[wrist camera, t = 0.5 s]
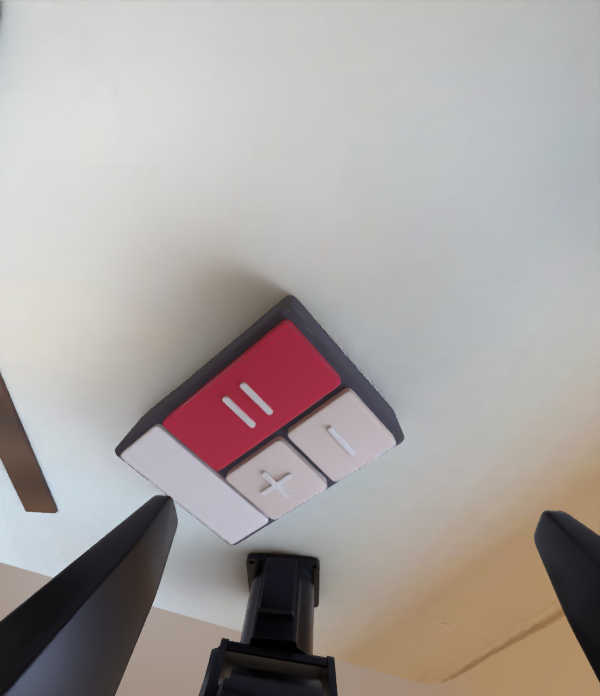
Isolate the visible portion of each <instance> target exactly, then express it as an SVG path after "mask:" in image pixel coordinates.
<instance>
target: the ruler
mask: <svg viewBox="0 0 600 696" xmlns="http://www.w3.org/2000/svg"><path fill="white" fill-rule="evenodd" d="M0 458H1V460H2V462H3V465H4V467H5V469H6V471H7V473H8V475H9V477H10V479H11V481H12V483H13V485H14V488H15V490H16V492H17V494H18V496H19V498H20V500H21V502H22V504H23V506H24V509H25V511H26V512H42V513H56V512H57V511H58V510H57V508H56V505H55V503H54V501H53V498H52V496H51V493H50V491H49V489H48V486H47V484H46V482H45V479H44V477H43V475H42V472H41V470H40V467H39V465H38V463H37V460H36V458H35V456H34V453H33V451H32V448H31V446H30V444H29V441H28V439H27V437H26V434H25V432H24V429H23V427H22V425H21V422H20V420H19V418H18V415H17V413H16V410H15V408H14V406H13V403H12V401H11V399H10V396H9V394H8V392H7V389H6V387H5V384H4V382H3V380H2V377H1V375H0Z"/></svg>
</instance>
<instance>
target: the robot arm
mask: <svg viewBox="0 0 600 696" xmlns="http://www.w3.org/2000/svg"><path fill="white" fill-rule="evenodd" d="M177 523H178V519H177V514H176V510H175V505H174V501H173V498H172V497H171V496H163V495H157V496H154V497H153V498H151V499H150V500H149V501H147V502H146V503H145V504H144V505H143V506H141V507H140V508H139V509H138V510H136V511H135V512H134V513H133V514H132V515H130V516H129V517H128V518H127V519H125V520H124V521H123V522H122V523H120V524H119V525H118V526H117V527H116V528H114V529H113V530H112V531H111V532H109V533H108V534H107V535H106V536H104V537H103V538H102V539H101V540H100V541H98V542H97V543H96V544H95V545H93V546H92V547H91V548H90V549H89V550H87V551H86V552H85V553H84V554H82V555H81V556H80V557H79V558H77V559H76V560H75V561H74V562H73V563H71V564H70V565H69V566H68V567H66V568H65V569H64V570H63V571H61V572H60V573H59V574H58V575H57V576H55V577H54V578H53V579H52V580H50V581H49V582H48V583H47V584H46V585H44V586H43V587H42V588H41V589H39V590H38V591H37V592H36V593H34V594H33V595H32V596H31V597H30V598H28V599H27V600H26V601H25V602H24V603H22V604H21V605H20V606H19V607H17V608H16V609H15V610H14V611H12V612H11V613H10V614H9V615H7V616H6V617H5V618H4V619H3V620H1V621H0V696H115V694H116V691H117V689H118V686H119V684H120V682H121V679H122V677H123V674H124V672H125V669H126V667H127V665H128V662H129V659H130V657H131V655H132V652H133V650H134V648H135V645H136V643H137V640H138V638H139V635H140V633H141V631H142V628H143V626H144V623H145V621H146V618H147V616H148V614H149V611H150V609H151V606H152V604H153V601H154V599H155V596H156V593H157V590H158V587H159V584H160V581H161V578H162V574H163V571H164V568H165V565H166V561H167V558H168V555H169V552H170V548H171V545H172V542H173V539H174V535H175V532H176V529H177ZM534 540H535V544H536V547H537V550H538V552H539V554H540V557H541V559H542V561H543V564H544V566H545V569H546V571H547V573H548V576H549V578H550V581H551V583H552V585H553V588H554V590H555V592H556V595H557V597H558V600H559V602H560V604H561V607H562V609H563V611H564V613H565V616H566V618H567V620H568V622H569V624H570V626H571V628H572V630H573V632H574V634H575V636H576V638H577V640H578V642H579V644H580V646H581V648H582V649H583V651H584V653H585V655H586V657H587V659H588V661H589V663H590V665H591V667H592V669H593V671H594V672H595V674H596V676H597V678H598V680H599V682H600V536H599V535H598V534H596V533H595V532H593V531H592V530H591V529H589V528H588V527H586V526H585V525H583V524H582V523H580V522H579V521H578V520H576V519H575V518H573V517H572V516H570V515H569V514H567V513H565V512H563V511H550V510H546V511H544V512H543V513H542V514H541V517H540V520H539V522H538V525H537V528H536V531H535V534H534ZM246 565H247V574H248V583H249V592H250V595H249V600H248V605H247V610H246V615H245V620H244V625H243V630H242V636H241V641H240V643H239V642H233V641H229V639H225V638H222V640H221V644H220V646H219V647H218V648H215V649H212V651H211V655H210V659H209V663H208V667H207V670H206V674H205V678H204V681H203V684H202V687H201V690H200V693H199V696H338V695H337V684H336V672H335V661H334V657H330V656H327V657H321V656H315V655H313V623H314V607H317V606H318V605H319V569H320V562H319V560H318V559H316V558H304V557H289V556H274V555H260V554H249V555H248V556H247V560H246Z"/></svg>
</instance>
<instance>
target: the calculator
mask: <svg viewBox="0 0 600 696" xmlns="http://www.w3.org/2000/svg"><path fill="white" fill-rule="evenodd" d="M403 440H404V435H403V432H402V430H401V427H400V425H399V423H398V420H397V418H396V416H395V413H394V411H393V410H392V408H391V407H390V406H389V405H388V404H387V402H386V401H385V400H384V399H383V398H382V397H381V395H380V394H379V393H378V392H377V391H376V390H375V389H374V387H373V386H372V385H371V384H370V383H369V382H368V380H367V379H366V378H365V377H364V376H363V375H362V373H361V372H360V371H359V370H358V369H357V368H356V367H355V365H354V364H353V363H352V362H351V361H350V360H349V358H348V357H347V356H346V355H345V354H344V353H343V352H342V350H341V349H340V348H339V347H338V346H337V345H336V343H335V342H334V341H333V340H332V339H331V338H330V336H329V335H328V334H327V333H326V332H325V331H324V330H323V328H322V327H321V326H320V325H319V324H318V323H317V321H316V320H315V319H314V318H313V317H312V316H311V315H310V313H309V312H308V311H307V310H306V309H305V308H304V306H303V305H302V304H301V303H300V302H299V301H298V300H297V299H296V298H295V297H294V296H287V297H285V298H284V299H282V300H281V301H280V302H279V303H278V304H277V305H275V306H274V307H273V308H272V309H271V310H269V311H268V312H267V313H266V314H265V315H264V316H262V317H261V318H260V319H259V320H258V321H256V322H255V323H254V324H253V325H252V326H251V327H249V328H248V329H247V330H246V331H245V332H244V333H242V334H241V335H240V336H239V337H238V338H236V339H235V340H234V341H233V342H232V343H231V344H229V345H228V346H227V347H226V348H225V349H224V350H222V351H221V352H220V353H219V354H218V355H216V356H215V357H214V358H213V359H212V360H211V361H209V362H208V363H207V364H206V365H205V366H203V367H202V368H201V369H200V370H199V371H198V372H196V373H195V374H194V375H193V376H192V377H191V378H189V379H188V380H187V381H186V382H185V383H183V384H182V385H181V386H180V387H179V388H178V389H176V390H175V391H173V392H172V393H170V394H169V395H168V396H167V397H165V398H164V399H163V400H162V401H161V402H159V403H158V404H157V405H156V406H155V407H154V408H152V409H151V410H150V411H149V412H148V413H147V414H145V415H144V416H143V417H142V418H141V419H140V420H139V421H138V422H137V424H136V425H135V426H134V427H133V428H132V429H131V431H130V432H129V433H128V434H127V435H126V436H125V438H124V439H123V440H122V441H121V442H120V444H119V445H118V446H117V447H116V449H115V453H116V455H117V456H118V457H120V458H121V459H122V460H123V461H125V462H126V463H127V464H128V465H130V466H131V467H132V468H133V469H135V470H136V471H137V472H138V473H140V474H141V475H142V476H143V477H145V478H146V479H147V480H149V481H150V482H151V483H152V484H154V485H155V486H156V487H157V488H159V489H160V490H161V491H162V492H164V493H165V494H166V495H167V496H171V497H172V498H173V500H174V501H175V502H176V503H178V504H179V505H180V506H181V507H183V508H184V509H185V510H186V511H188V512H189V513H190V514H192V515H193V516H194V517H195V518H197V519H198V520H199V521H200V522H202V523H203V524H204V525H205V526H207V527H208V528H209V529H210V530H212V531H213V532H214V533H216V534H217V535H218V536H219V537H221V538H222V539H223V540H224V541H226V542H227V543H228V544H230V545H236V544H238V543H240V542H241V541H243V540H244V539H246V538H248V537H249V536H251V535H252V534H254V533H256V532H257V531H259V530H261V529H262V528H264V527H265V526H267V525H269V524H270V523H272V522H274V521H275V520H277V519H278V518H280V517H282V516H283V515H285V514H287V513H288V512H290V511H291V510H293V509H295V508H296V507H298V506H300V505H301V504H303V503H304V502H306V501H308V500H309V499H311V498H312V497H314V496H316V495H317V494H319V493H321V492H322V491H324V490H325V489H327V488H329V487H330V486H332V485H334V484H335V483H337V482H338V481H340V480H342V479H343V478H345V477H347V476H348V475H350V474H351V473H353V472H355V471H356V470H358V469H360V468H361V467H363V466H364V465H366V464H368V463H369V462H371V461H372V460H374V459H376V458H377V457H379V456H381V455H382V454H384V453H385V452H387V451H389V450H390V449H392V448H394V447H395V446H397V445H398V444H400V443H401V442H402V441H403Z"/></svg>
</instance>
